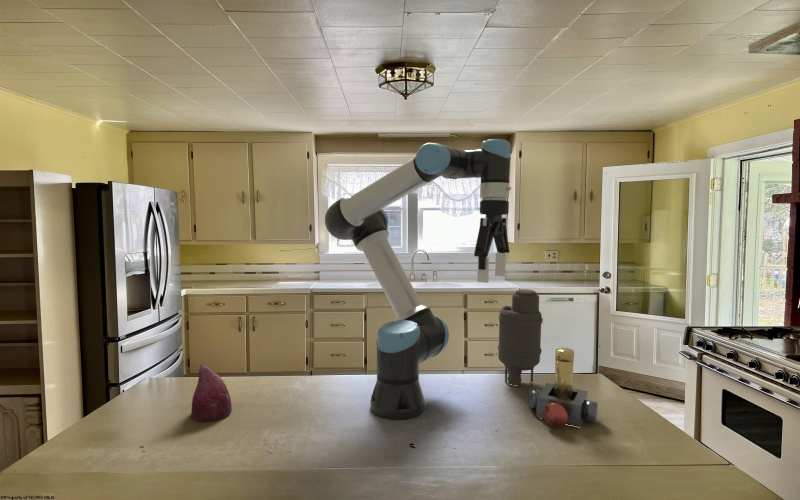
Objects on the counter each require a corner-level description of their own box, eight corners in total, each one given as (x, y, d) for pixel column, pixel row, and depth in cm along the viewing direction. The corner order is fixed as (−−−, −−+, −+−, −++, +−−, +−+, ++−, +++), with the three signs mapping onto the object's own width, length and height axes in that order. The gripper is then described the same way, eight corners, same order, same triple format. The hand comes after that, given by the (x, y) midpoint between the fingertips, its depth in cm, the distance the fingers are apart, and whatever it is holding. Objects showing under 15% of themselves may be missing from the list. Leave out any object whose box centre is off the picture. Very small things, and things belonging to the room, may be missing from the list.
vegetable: (185, 429, 117) (167, 376, 115) (215, 408, 126) (198, 359, 124) (214, 427, 112) (195, 372, 111) (242, 406, 122) (225, 355, 120)
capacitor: (533, 394, 134) (536, 295, 131) (490, 384, 141) (493, 291, 139) (545, 380, 145) (548, 289, 143) (505, 371, 152) (507, 285, 150)
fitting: (551, 405, 119) (554, 351, 118) (555, 399, 123) (557, 346, 121) (569, 409, 116) (572, 354, 115) (573, 403, 120) (575, 349, 119)
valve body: (520, 420, 116) (521, 396, 116) (535, 400, 129) (536, 379, 128) (590, 438, 108) (591, 412, 107) (599, 415, 120) (600, 391, 120)
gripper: (492, 198, 105) (489, 286, 107) (521, 201, 126) (519, 274, 128) (462, 198, 109) (460, 283, 111) (496, 201, 130) (494, 272, 132)
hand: (491, 279), depth 119 cm, fingers open, 13 cm apart
